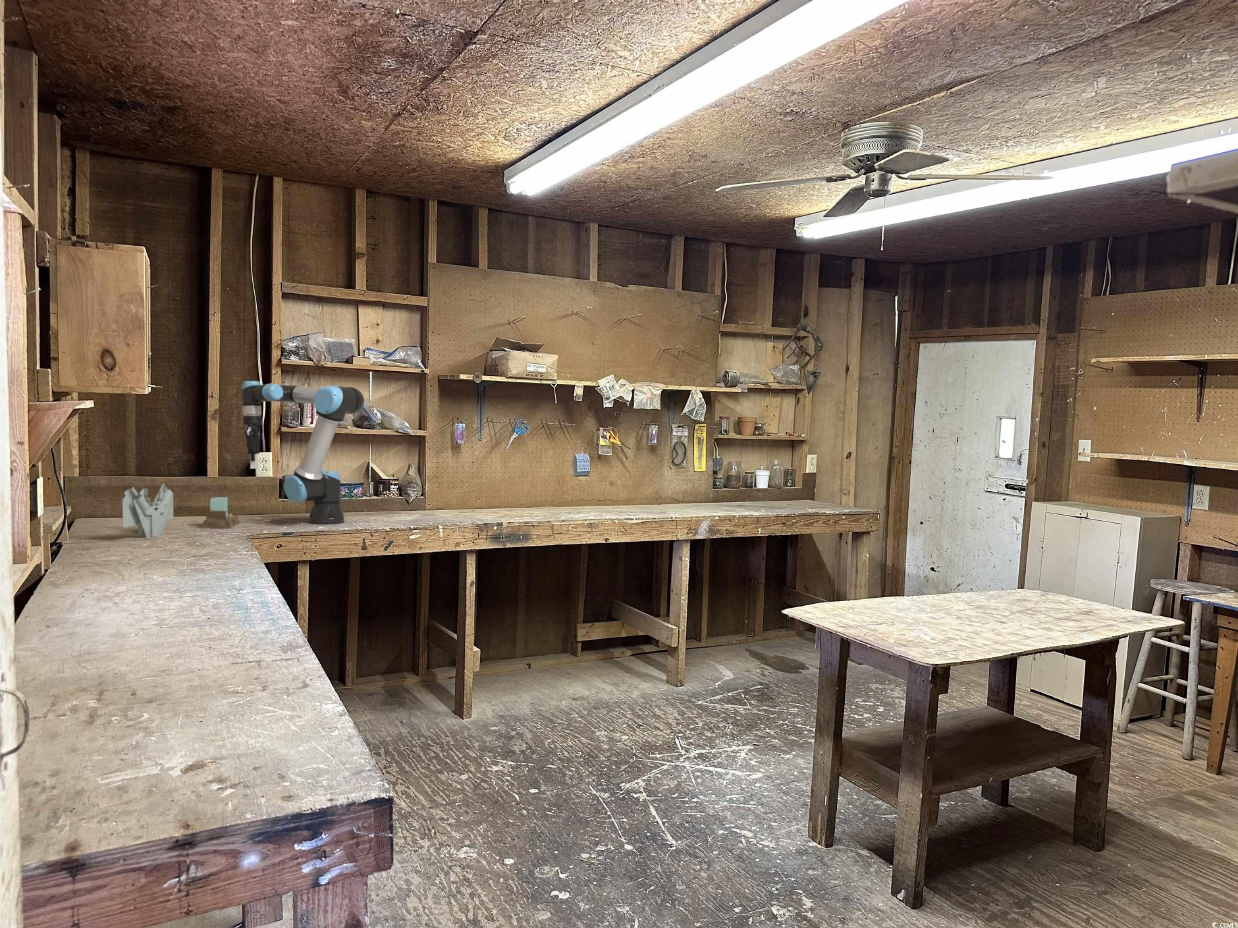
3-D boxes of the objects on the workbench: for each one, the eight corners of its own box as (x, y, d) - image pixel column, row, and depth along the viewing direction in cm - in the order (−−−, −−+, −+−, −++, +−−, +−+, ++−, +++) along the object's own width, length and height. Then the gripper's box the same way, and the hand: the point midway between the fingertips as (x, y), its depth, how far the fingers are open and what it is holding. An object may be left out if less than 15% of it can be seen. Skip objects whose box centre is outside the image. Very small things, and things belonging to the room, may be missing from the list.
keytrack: (212, 523, 357) (211, 507, 357) (239, 523, 359) (238, 507, 359) (201, 528, 343) (201, 511, 342) (230, 528, 345) (230, 511, 344)
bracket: (132, 541, 307) (131, 488, 306) (115, 540, 308) (114, 487, 307) (181, 531, 334) (181, 482, 333) (166, 530, 335) (165, 482, 334)
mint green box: (215, 522, 351) (214, 497, 351) (227, 522, 352) (227, 497, 352) (210, 525, 345) (210, 499, 344) (223, 525, 346) (223, 499, 345)
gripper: (248, 417, 372) (250, 468, 372) (238, 415, 359) (240, 468, 359) (265, 416, 373) (267, 468, 373) (256, 414, 360) (258, 468, 360)
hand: (254, 468), depth 366 cm, fingers closed
